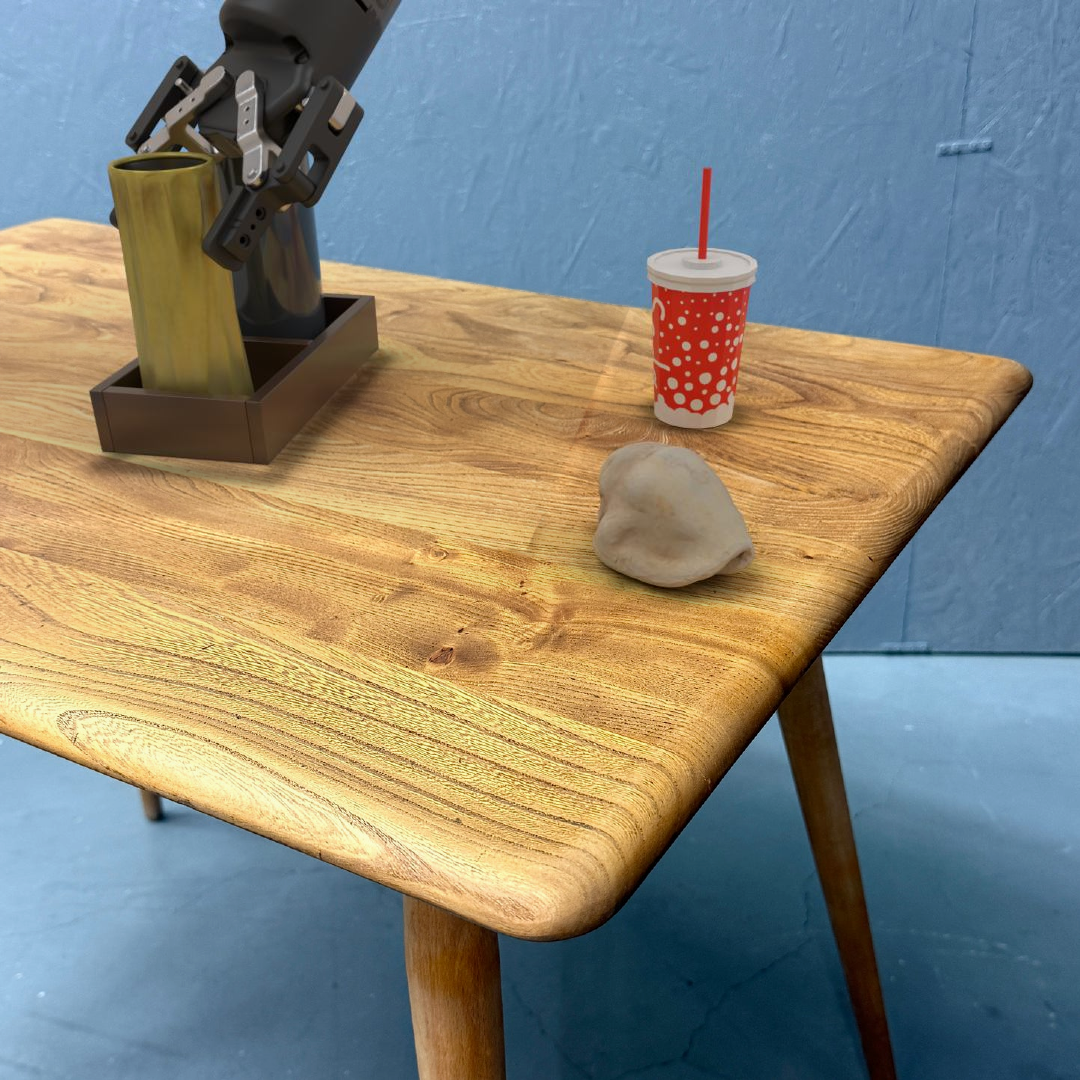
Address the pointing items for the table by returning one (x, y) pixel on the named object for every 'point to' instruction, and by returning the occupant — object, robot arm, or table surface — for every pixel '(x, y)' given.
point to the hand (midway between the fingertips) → (169, 247)
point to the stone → (667, 517)
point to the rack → (235, 420)
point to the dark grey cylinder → (279, 270)
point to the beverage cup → (698, 327)
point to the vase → (177, 274)
